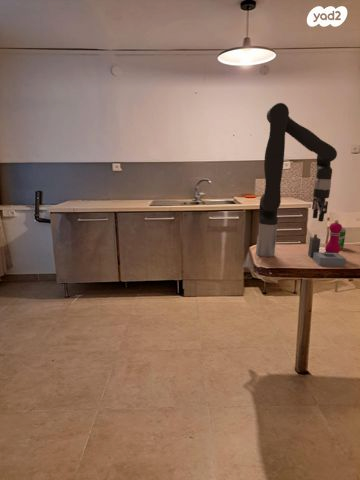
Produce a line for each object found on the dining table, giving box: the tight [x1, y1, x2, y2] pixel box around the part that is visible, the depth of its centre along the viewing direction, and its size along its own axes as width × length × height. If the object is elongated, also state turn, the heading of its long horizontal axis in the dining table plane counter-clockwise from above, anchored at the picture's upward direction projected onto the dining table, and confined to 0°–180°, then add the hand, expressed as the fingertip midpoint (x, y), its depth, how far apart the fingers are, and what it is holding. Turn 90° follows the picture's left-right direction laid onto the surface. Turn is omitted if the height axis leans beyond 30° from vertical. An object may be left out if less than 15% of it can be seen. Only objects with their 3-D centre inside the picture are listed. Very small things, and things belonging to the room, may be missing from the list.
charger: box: [307, 233, 321, 259], centre depth 165 cm, size 4×4×12 cm
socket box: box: [312, 251, 347, 267], centre depth 156 cm, size 12×9×4 cm
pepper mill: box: [324, 219, 343, 254], centre depth 164 cm, size 7×7×20 cm
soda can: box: [338, 226, 347, 250], centre depth 183 cm, size 8×8×12 cm
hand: (317, 219), depth 162 cm, fingers open, 8 cm apart
